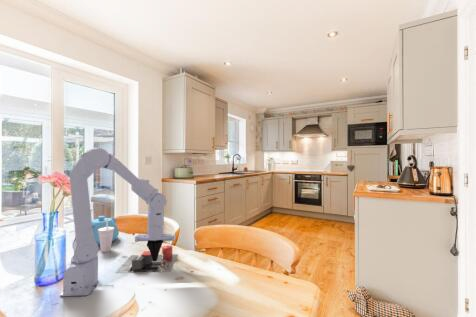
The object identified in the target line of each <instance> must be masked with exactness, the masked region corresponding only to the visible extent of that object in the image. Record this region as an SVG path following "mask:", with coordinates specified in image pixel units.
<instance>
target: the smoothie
mask: <svg viewBox="0 0 476 317" xmlns="http://www.w3.org/2000/svg"><path fill="white" fill-rule="evenodd" d="M113 231H114V227H108V219H106V227H103V228H100V229H98V233H99V239H100V245H99V246H100V252H101V253H108V252H110V251H111V248H112V242H113V241H112V237H113Z"/></svg>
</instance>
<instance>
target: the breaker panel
mask: <svg viewBox="0 0 476 317" xmlns="http://www.w3.org/2000/svg"><path fill="white" fill-rule="evenodd" d="M141 255H142V254H131V255H130V256H129V257H128V258H127V259H126V260H125V261H124V262H123V264H122V265H121V266H120V267H119V268H118V269H117V270H116V271H114V274H125V273H127V274H131V273H169V272H170V273H171V271H172V270H173V268H174V264H175V263H176V260H177V259H178V256H179V254H178V253H177V254H176V253H175V254H173V253H172V258H170V259H163V258H162V254H158V259H157V261H152V262H151V263H150V264H144V266H143V268H142V269H135V270H132V260H133V259H134V258H135V257H141Z"/></svg>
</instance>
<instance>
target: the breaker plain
mask: <svg viewBox="0 0 476 317" xmlns="http://www.w3.org/2000/svg"><path fill="white" fill-rule="evenodd" d="M143 266H144V257H135V258H134V259H133V260H132V270H135V269H142V268H143Z"/></svg>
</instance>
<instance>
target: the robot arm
mask: <svg viewBox="0 0 476 317" xmlns="http://www.w3.org/2000/svg"><path fill="white" fill-rule="evenodd" d="M102 168H103V169H104V170H106V169H107V170H110V171H113V172H115V173H116V174H117V175H118V176H120V177H121V178H122V179H124V181H126V182H127V183H128V184H130V186H131V187H130V188H131V191H132V192H133V193H135V195H137V196H138V197H140V198H141V199H142V201H144V202H145V204H146V205H148V206H147V207H148V208H147V233H146V234H136V235H135V237H134V242H135V243H138V242H147V243H146V247H147V249H148V251H150V253H151V255H152V260H153V261H157V259H158V255H160V254H159V253H160V251H161V249H162V247H163V246H162V245H163V243H164V242H167V241H168V242H175V241H176V234H171V233H169V234H167V233H164V232H165V231H164V228H165V227H164V226H165V225H164V220H165V216H164V215H165V206H166V205H167V203H168V202H167V201H168V200H167V199H166V196H165V195H164V194H163V193H161V192H159V189H158V188H157V187H156V188H155V187H154V186H153V185H152V184H151V183H150V181H151V180H149V179H148V178H147V179H145V178H143V177H141V178H138V177H137V176H136V175H135V174H134V173H133V172H132V171H131V170H130V169H129V168H128V167H127V166H126V165H124V164H123V163H122V162H121V161H120V160H119V159H118V158H116V157H115V156H114V155H112V154H110V153H108V151H107V150H106V149H104V148H102V147H94V148H91V149H89V150H87V151H86V152H84V153H83V154H81V155H80V156H79V158H78V160H77V161H76V163H75V164H74V166H73V167H72V168H71V170H70V171H69V175H68V178H69V186H70V187H69V188H70V196H71V206H72V214H73V215H72V216H73V223H74V225H73V226H74V240H72V244H71V245H72V249H73V256H72V257H71V258H70V264H69V266H68V267H67V269H65V271H64V273H63V279H62V280H63V284H62V286H63V287H62V292H61V293H60V294H59V296H60V297H78V296H79V297H81V296H82V297H83V296H88V295H89V294H91V292H93V291H94V290H95V289H96V288H97V287H98V284H97V282H98V279H99V251H100V250H99V249H100V248H99V245H98V244H97V243H96V241H95V238H94V234H93V229H92V213H91V212H92V211H91V202H90V193H89V192H90V191H89V183H88V182H89V180H88V179H89V178H90V177H91V176H92V175H93V174H95V172H96V171H98V170H100V169H102Z"/></svg>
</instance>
